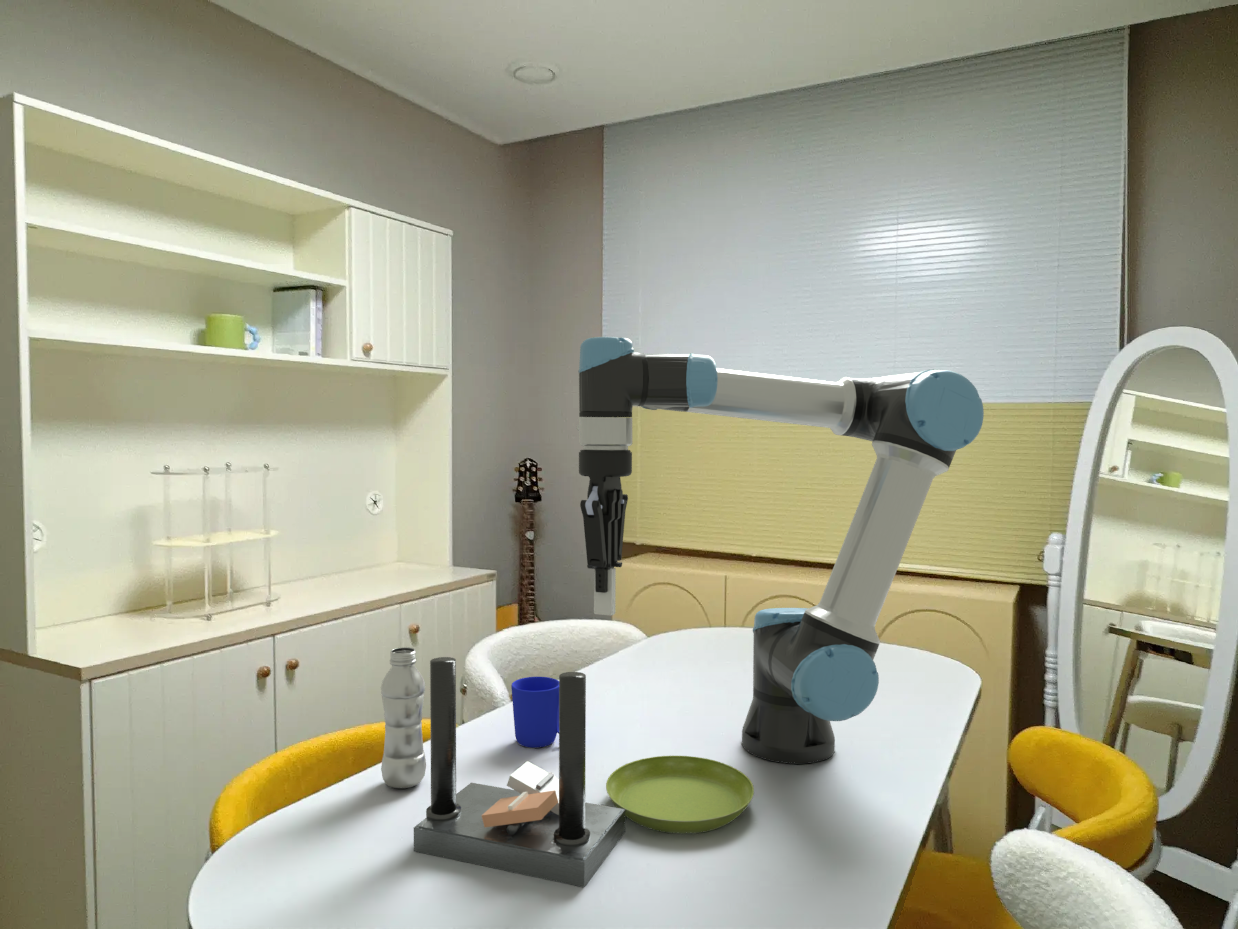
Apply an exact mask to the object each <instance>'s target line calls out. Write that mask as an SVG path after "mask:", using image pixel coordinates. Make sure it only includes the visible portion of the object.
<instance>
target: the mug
mask: <svg viewBox="0 0 1238 929" xmlns="http://www.w3.org/2000/svg"><path fill="white" fill-rule="evenodd" d="M510 686H511V687H510V688H511V698H512V712H513V724H514V725H513V726H514V735H515V739H516V742H517V743H518V744H519V745H520V746H523V747H524V748H525V747H526V748H530V749H531V748H532V749H534V748H535V749H536V748H537V749H539V748H545V747H547V746H550V745H551V744H553V743H554V742H555V740H556V737H557V734H558V735H559V680H558V679H556V678H553V677H548V676H527V677H522V678H519V679H516V680H514V681H513V682H512V683H511V685H510Z"/></svg>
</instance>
